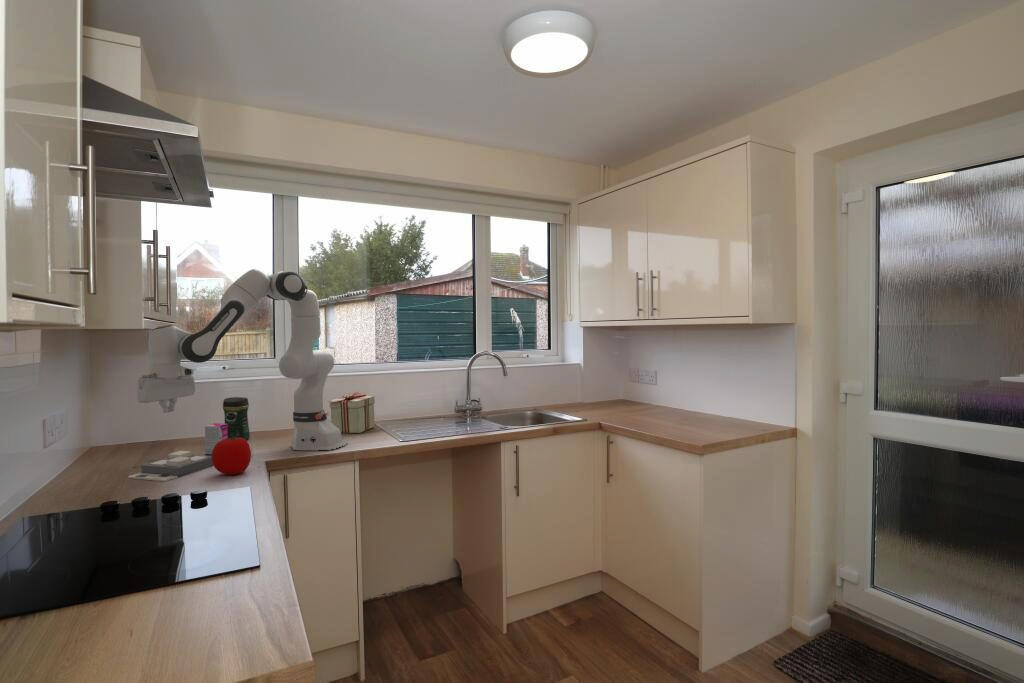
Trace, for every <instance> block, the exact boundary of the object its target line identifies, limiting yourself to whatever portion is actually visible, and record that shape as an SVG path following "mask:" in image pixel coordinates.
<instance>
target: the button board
mask: <svg viewBox="0 0 1024 683" xmlns="http://www.w3.org/2000/svg"><path fill="white" fill-rule="evenodd" d="M195 456H203V457H208V458H205V459H201V460H198V461H191V463H189V464H186V465H182V466H179V467H175V466H166V464H164V465H152V464H150V463H154V462H157V461H161V460H170V459H168V456H167V457H165V458H160V459H157V460H154V461H153V460H152V461H151V462H147V463H146V462H145V463H143V464H141V465H140V472H137V473H135V474H132V475H128V476H127V478H128V479H135V480H148V481H154V482H155V481H157V482H168V481H171V480H175V479H176V478H180V477H183V476H186V475H190V474H193V473H195V472H198V471H201V470H204V469H208V468H210V467H214V465H213V463H212V456H207V455H205V454H204V455H203V454H194V453H192V456H191V457H195ZM191 457H188V458H191Z"/></svg>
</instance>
